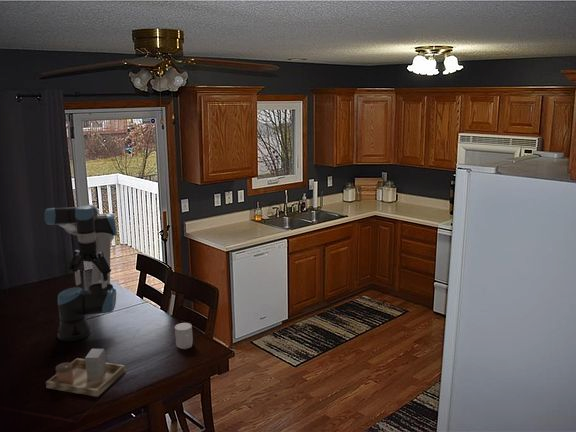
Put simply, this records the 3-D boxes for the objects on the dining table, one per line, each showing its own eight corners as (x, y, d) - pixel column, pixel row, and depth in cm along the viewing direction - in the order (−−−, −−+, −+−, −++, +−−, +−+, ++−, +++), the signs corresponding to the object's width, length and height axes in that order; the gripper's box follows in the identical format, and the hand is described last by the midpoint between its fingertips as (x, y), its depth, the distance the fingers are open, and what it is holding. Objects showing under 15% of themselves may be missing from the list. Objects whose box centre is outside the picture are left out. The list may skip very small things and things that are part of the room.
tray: (46, 389, 217) (45, 382, 216) (77, 365, 236) (76, 357, 235) (98, 398, 211) (97, 390, 210) (125, 372, 230) (125, 365, 229)
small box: (93, 370, 230) (91, 348, 227) (106, 370, 230) (104, 348, 227) (86, 380, 222) (84, 357, 220) (100, 380, 222) (97, 357, 220)
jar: (54, 386, 218) (52, 369, 216) (64, 378, 224) (62, 361, 222) (67, 388, 216) (65, 371, 214) (77, 380, 222) (75, 363, 220)
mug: (172, 324, 254) (188, 320, 258) (173, 341, 257) (189, 338, 260) (179, 334, 244) (196, 330, 248) (180, 352, 246) (197, 349, 250)
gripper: (57, 241, 236) (62, 286, 242) (106, 245, 230) (110, 291, 235) (68, 236, 243) (73, 280, 249) (116, 240, 237) (120, 285, 242)
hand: (91, 285), depth 242 cm, fingers open, 13 cm apart
